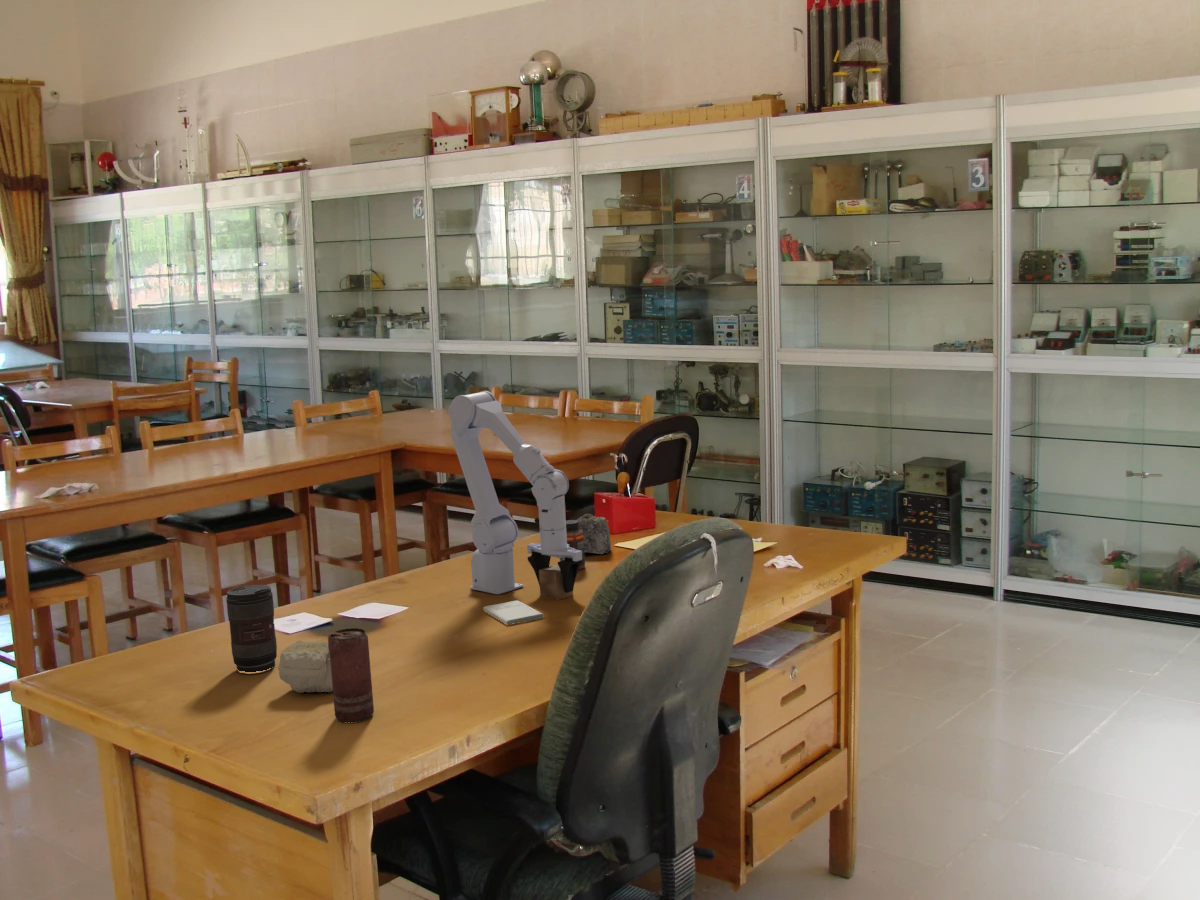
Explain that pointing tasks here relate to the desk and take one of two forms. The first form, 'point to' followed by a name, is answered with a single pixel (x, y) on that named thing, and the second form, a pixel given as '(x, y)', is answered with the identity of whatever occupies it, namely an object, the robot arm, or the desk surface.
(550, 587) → the walnut block
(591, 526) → the mineral rock
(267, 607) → the camera lens
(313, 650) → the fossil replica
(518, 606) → the external hard drive
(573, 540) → the supplement bottle
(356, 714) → the can
